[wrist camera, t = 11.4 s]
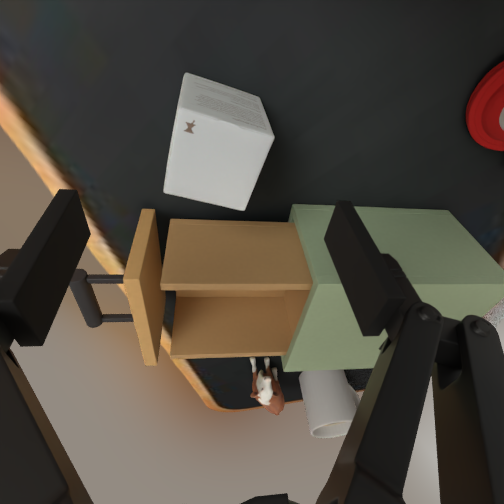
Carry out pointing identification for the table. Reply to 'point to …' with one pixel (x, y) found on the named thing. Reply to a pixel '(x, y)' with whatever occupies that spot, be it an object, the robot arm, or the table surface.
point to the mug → (328, 402)
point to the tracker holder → (488, 110)
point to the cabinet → (412, 263)
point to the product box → (217, 144)
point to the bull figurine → (267, 388)
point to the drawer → (209, 287)
